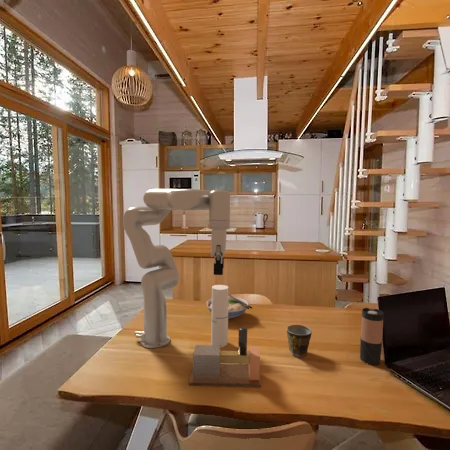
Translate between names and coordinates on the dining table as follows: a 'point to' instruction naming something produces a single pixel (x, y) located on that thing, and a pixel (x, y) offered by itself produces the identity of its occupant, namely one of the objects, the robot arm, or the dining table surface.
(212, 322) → the cylindrical container
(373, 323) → the travel mug
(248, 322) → the dining table surface
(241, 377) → the brown wooden base board
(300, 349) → the ceramic cup
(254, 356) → the socket
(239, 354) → the sliding bolt with handle
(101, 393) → the dining table surface
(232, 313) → the ramen bowl
